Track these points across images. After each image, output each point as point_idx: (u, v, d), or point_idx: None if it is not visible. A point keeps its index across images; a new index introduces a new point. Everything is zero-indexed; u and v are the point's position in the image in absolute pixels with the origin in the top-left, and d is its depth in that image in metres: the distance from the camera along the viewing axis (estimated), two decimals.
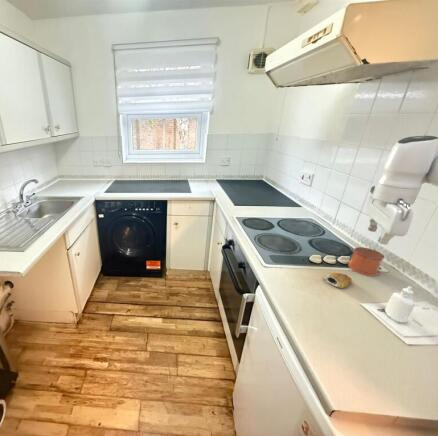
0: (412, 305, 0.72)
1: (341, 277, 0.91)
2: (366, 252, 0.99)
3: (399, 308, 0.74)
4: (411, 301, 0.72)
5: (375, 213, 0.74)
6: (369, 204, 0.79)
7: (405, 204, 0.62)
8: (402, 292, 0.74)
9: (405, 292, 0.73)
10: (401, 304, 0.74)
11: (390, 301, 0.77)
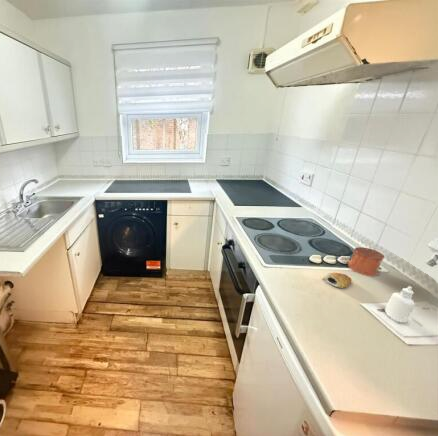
0: (412, 305, 0.72)
1: (341, 277, 0.91)
2: (366, 252, 0.99)
3: (399, 308, 0.74)
4: (411, 301, 0.72)
5: None
6: None
7: None
8: (402, 292, 0.74)
9: (405, 292, 0.73)
10: (401, 304, 0.74)
11: (390, 301, 0.77)
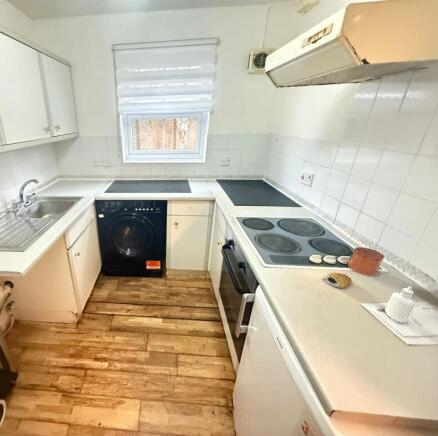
0: (412, 305, 0.72)
1: (341, 277, 0.91)
2: (366, 252, 0.99)
3: (399, 308, 0.74)
4: (411, 301, 0.72)
5: None
6: None
7: None
8: (402, 292, 0.74)
9: (405, 292, 0.73)
10: (401, 304, 0.74)
11: (390, 301, 0.77)
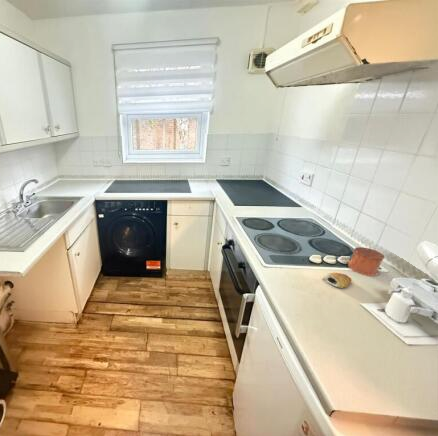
0: None
1: (341, 277, 0.91)
2: (366, 252, 0.99)
3: (399, 308, 0.74)
4: (411, 301, 0.72)
5: (421, 293, 0.75)
6: (405, 280, 0.81)
7: None
8: (402, 292, 0.74)
9: (405, 292, 0.73)
10: (401, 304, 0.74)
11: (390, 301, 0.77)
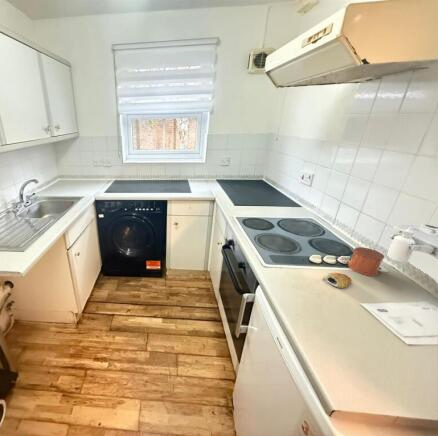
0: None
1: (341, 277, 0.91)
2: (366, 252, 0.99)
3: (401, 249, 0.78)
4: (412, 240, 0.76)
5: (421, 235, 0.79)
6: (406, 226, 0.85)
7: None
8: (403, 233, 0.78)
9: (406, 232, 0.77)
10: (402, 245, 0.78)
11: (392, 244, 0.81)
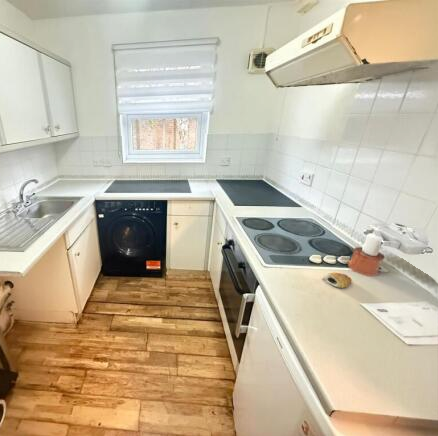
0: (381, 240, 0.93)
1: (341, 277, 0.91)
2: None
3: (372, 244, 0.96)
4: (381, 237, 0.94)
5: (390, 232, 0.96)
6: (379, 225, 1.02)
7: (431, 248, 0.87)
8: (374, 231, 0.95)
9: (376, 231, 0.94)
10: (373, 241, 0.95)
11: (366, 241, 0.99)
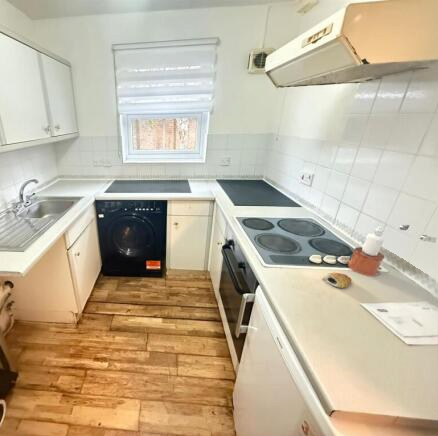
0: (381, 240, 0.93)
1: (341, 277, 0.91)
2: None
3: (372, 244, 0.96)
4: (381, 237, 0.94)
5: None
6: None
7: None
8: (374, 231, 0.95)
9: (376, 231, 0.94)
10: (373, 241, 0.95)
11: (366, 241, 0.99)
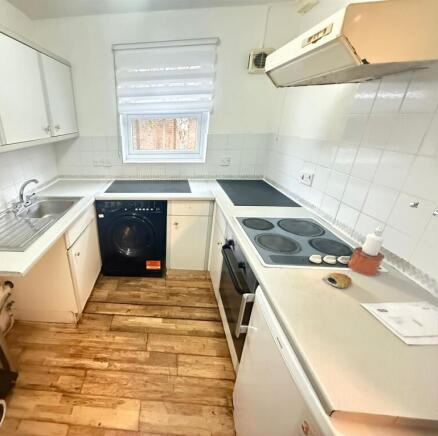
0: (381, 240, 0.93)
1: (341, 277, 0.91)
2: None
3: (372, 244, 0.96)
4: (381, 237, 0.94)
5: None
6: None
7: None
8: (374, 231, 0.95)
9: (376, 231, 0.94)
10: (373, 241, 0.95)
11: (366, 241, 0.99)
